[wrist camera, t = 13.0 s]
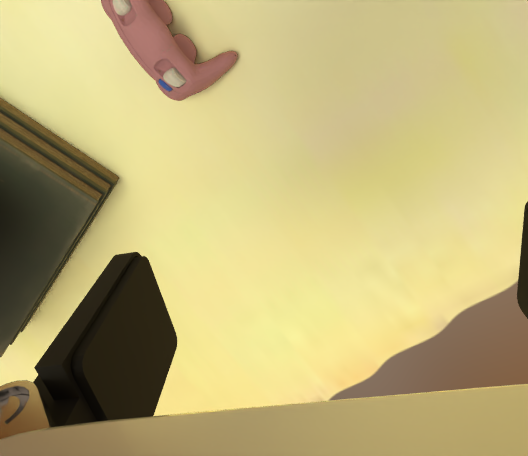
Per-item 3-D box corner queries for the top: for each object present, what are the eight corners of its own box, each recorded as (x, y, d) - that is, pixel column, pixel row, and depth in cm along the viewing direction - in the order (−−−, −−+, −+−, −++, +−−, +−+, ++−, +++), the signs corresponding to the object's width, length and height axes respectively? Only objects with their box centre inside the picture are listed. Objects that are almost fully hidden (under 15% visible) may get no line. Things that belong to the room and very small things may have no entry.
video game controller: (138, -26, 34) (75, -2, 30) (170, -63, 31) (106, -43, 27) (211, 83, 38) (165, 119, 33) (246, 59, 35) (201, 94, 30)
